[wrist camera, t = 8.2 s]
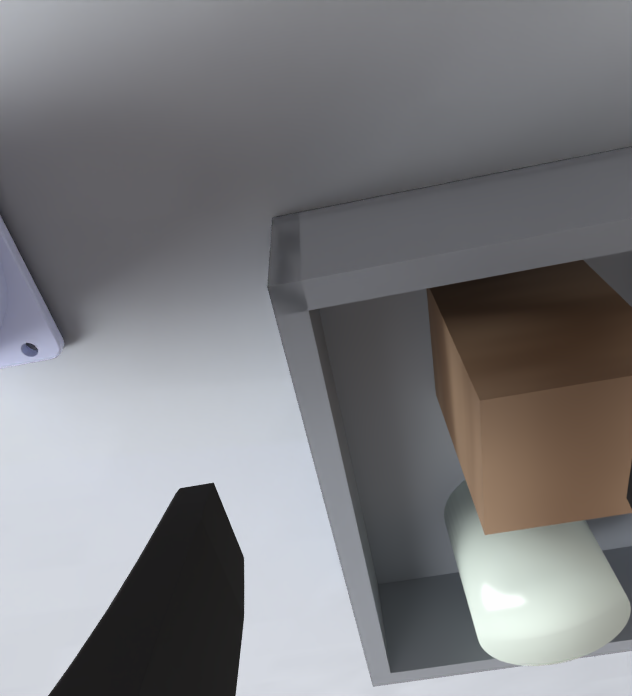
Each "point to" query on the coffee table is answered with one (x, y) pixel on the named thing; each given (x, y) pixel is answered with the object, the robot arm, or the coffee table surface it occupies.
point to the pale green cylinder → (535, 587)
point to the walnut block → (536, 393)
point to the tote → (423, 380)
